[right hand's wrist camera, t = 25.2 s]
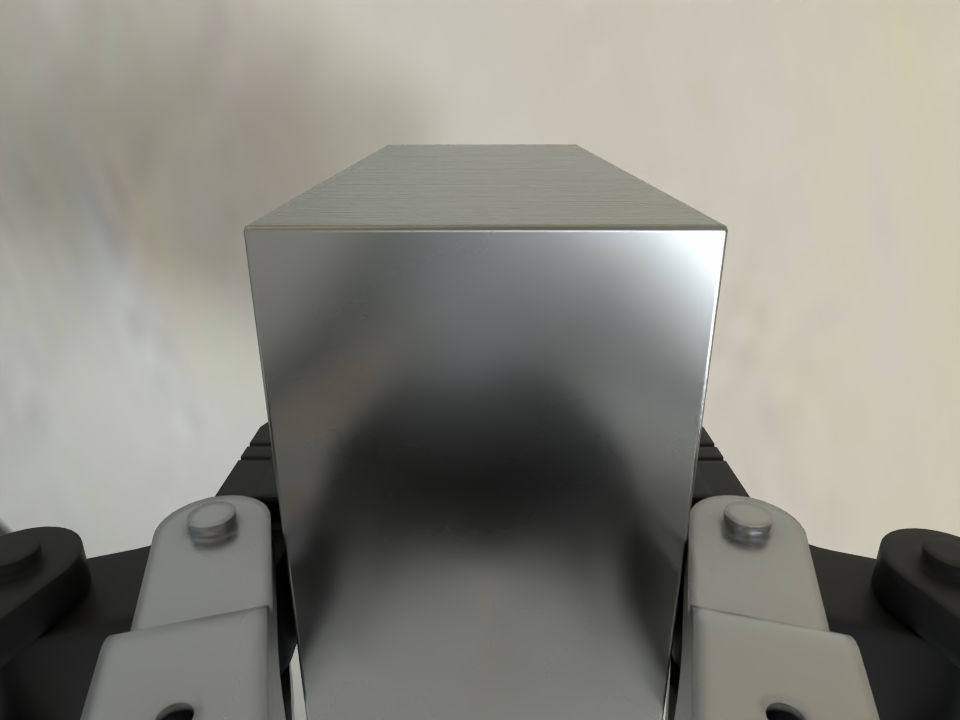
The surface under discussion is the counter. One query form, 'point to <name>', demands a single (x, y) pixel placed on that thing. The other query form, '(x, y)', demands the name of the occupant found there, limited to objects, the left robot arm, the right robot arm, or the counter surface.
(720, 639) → the right robot arm
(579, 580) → the block
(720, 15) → the counter surface
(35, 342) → the counter surface
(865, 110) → the counter surface
